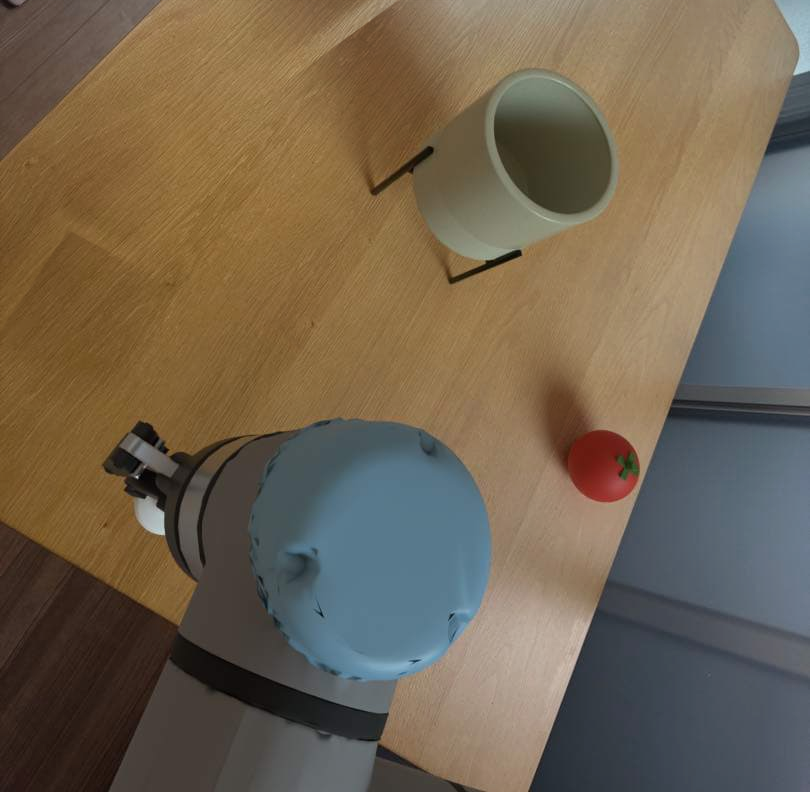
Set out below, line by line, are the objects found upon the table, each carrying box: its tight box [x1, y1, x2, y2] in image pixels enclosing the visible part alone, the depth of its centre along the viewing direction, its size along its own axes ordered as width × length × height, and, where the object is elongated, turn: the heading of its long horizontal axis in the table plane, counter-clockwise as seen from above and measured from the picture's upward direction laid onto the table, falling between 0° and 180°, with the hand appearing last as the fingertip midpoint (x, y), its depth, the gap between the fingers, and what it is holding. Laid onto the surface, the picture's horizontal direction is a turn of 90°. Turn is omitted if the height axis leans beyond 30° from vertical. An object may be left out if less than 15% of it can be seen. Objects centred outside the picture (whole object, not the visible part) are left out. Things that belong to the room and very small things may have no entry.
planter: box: [370, 67, 620, 285], centre depth 76 cm, size 15×16×23 cm
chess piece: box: [133, 496, 165, 536], centre depth 50 cm, size 5×5×10 cm
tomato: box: [567, 429, 641, 504], centre depth 83 cm, size 8×8×9 cm
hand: (170, 498), depth 54 cm, fingers closed on chess piece, 5 cm apart
